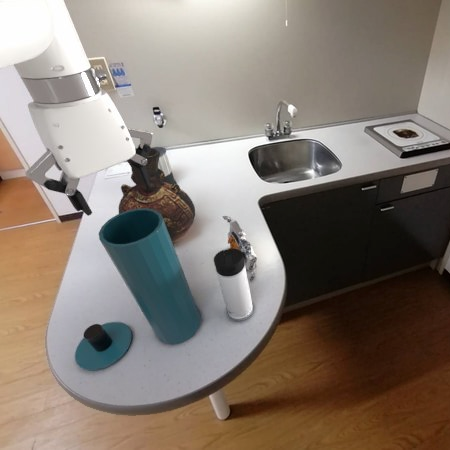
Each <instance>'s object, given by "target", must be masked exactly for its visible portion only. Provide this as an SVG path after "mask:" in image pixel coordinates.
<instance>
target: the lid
mask: <svg viewBox="0 0 450 450" xmlns="http://www.w3.org/2000/svg"><path fill="white" fill-rule="evenodd" d="M132 338H133V336H132V331H131V329H130V328H129V326H128V325H127V324H125V323H122V322H120V321H119V322H118V321H111V322H107V323H103V324H99V323H94V324H92V325H89V326H88V327H87V328H86V329H85V330H84V331H83V338H81V340H80V342H79V343H78V345H77V347H76V349H75V354H74V359H75V363H76V364H77V365H78V367H79V368H81V369H83V370H84V371H88V372H89V371H90V372H92V371H93V372H94V371H99V370H103V369H105V368H107V367H110V366H111V365H113V364H115V363H116V362H117V361H119V360H120V359H121V358H122V357H123V356H124V355H125V353H126V352H127V350H128V349H129V347H130V345H131V342H132Z"/></svg>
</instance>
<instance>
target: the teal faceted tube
mask: <svg viewBox="0 0 450 450" xmlns="http://www.w3.org/2000/svg"><path fill="white" fill-rule="evenodd" d="M99 229H100V230H99V231H98V240H99V241H100V243H101V244H102V246H103V249H104V250H105V252H106V253H107V254H108V257H109V258H110V260H111V261H112V263H113V265H114V266H115V269H116V270H117V271H118V273H119V275H120V277H121V278H122V280H123V282H124V283H125V285H126V287H127V288H128V290H129V292H130V294H131V296H132V297H133V298H134V300H135V302H136V304H137V306H138V308H139V309H140V311H141V312H142V314H143V315H144V317H145V319H146V321H147V322H148V324H149V325H150V328H151V329H152V331H153V333H154V334H155V336H156V337H157V339H158V340H159V341H160V342H161V343H163V344H166V345H178V344H182V343H184V342H186V341H188V340H190V339H191V338H192V337H193V336H194V335H195V334H196V333H197V332H198V330H199V328H200V325H201V323H202V321H201V320H202V319H201V314H200V311H199V308H198V306H197V304H196V301H195V298H194V296H193V293H192V290H191V287H190V285H189V283H188V282H189V281H188V280H187V278H186V275H185V272H184V270H183V267H182V265H181V262H180V259H179V255H177V251H176V249H175V247H174V243H172V241H171V238H170V236H169V233H168V230H167V228H166V225H165V223H164V220H163V218H162V215H161V214H160V213H159V212H158V211H156V210H153V209H149V208H138V209H133V210H128V211H125V212H123V213H120V214H119V213H117V214H116V215H115V216H112V217H111V218H109V219H108V220H107V221H106V222H105V223H104V224H103V225H102V226H101V228H99Z"/></svg>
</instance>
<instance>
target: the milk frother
mask: <svg viewBox="0 0 450 450" xmlns="http://www.w3.org/2000/svg"><path fill="white" fill-rule="evenodd" d="M151 148H152V149H156V150H158V151H159V152H160V157H159V162H158V168H159V169H160V170H162V171H163V172H164V174H165V178H164V179H163V181H162V182H165V183H168V184H178V183H177V182H176V180H175V176H174V174H173V170H172V167H171V163H170V161H169V158H168V154H167V148H166V147H162V146H153V147H152V146H151ZM130 168H131V167H130ZM132 173H133V169H132V168H131V174H132Z"/></svg>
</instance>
